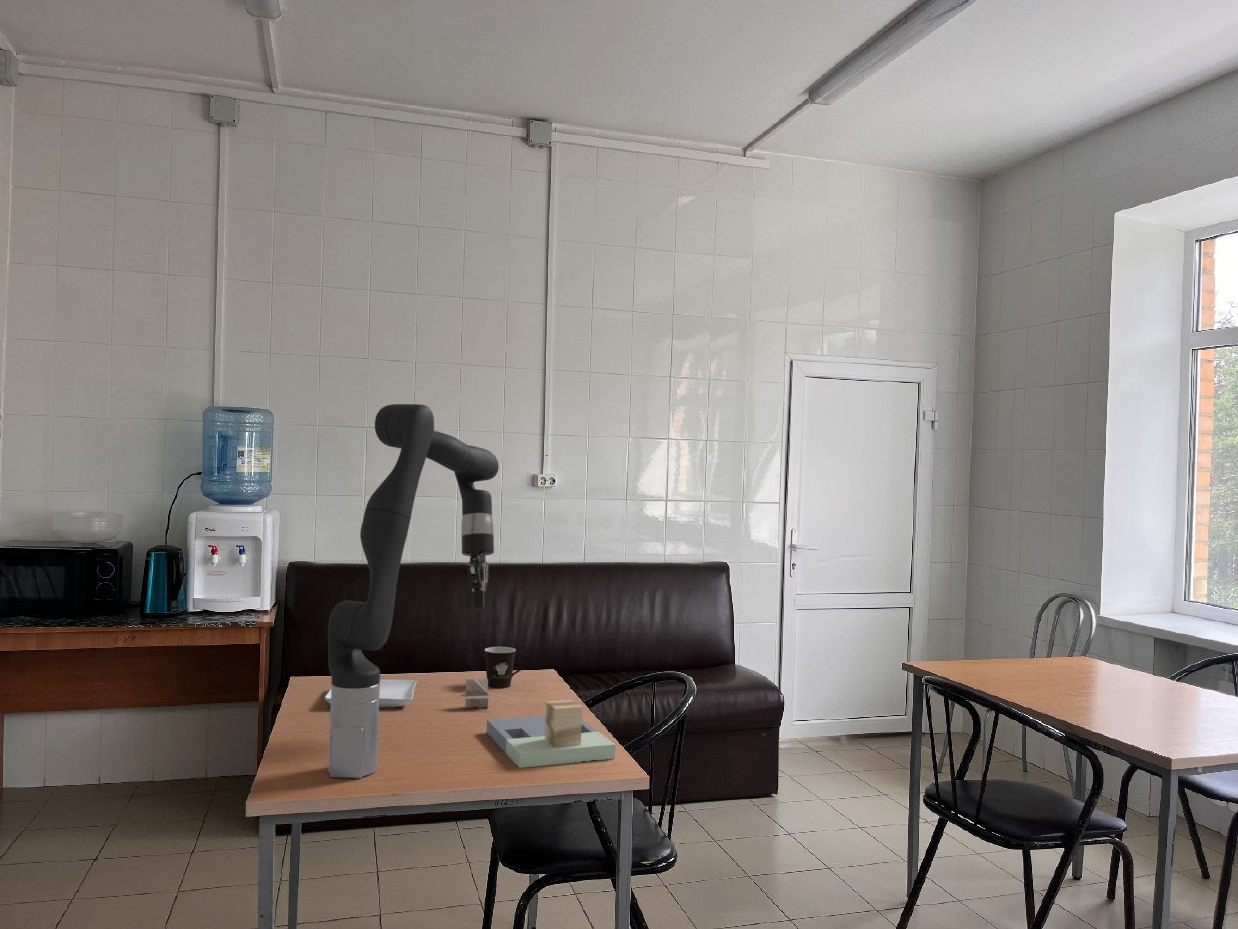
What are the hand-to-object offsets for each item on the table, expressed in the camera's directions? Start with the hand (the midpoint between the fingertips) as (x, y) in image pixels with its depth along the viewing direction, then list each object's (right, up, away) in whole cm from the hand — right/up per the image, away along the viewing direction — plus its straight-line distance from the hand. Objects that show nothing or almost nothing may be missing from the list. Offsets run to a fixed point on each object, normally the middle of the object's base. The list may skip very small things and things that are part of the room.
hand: (479, 608), depth 214 cm
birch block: (+21, -25, -19) cm, 38 cm away
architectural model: (-3, -28, +18) cm, 34 cm away
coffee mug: (+1, -28, +42) cm, 50 cm away
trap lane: (+17, -28, -12) cm, 35 cm away
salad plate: (-31, -28, +22) cm, 47 cm away
